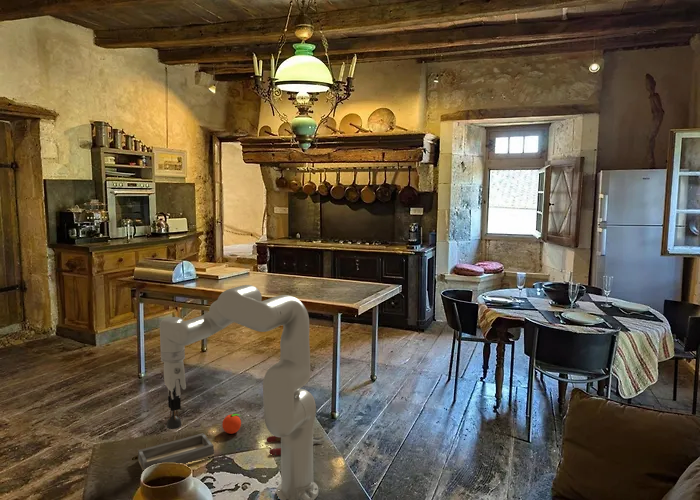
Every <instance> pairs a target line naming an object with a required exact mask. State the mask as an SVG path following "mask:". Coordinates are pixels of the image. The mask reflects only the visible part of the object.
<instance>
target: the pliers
mask: <svg viewBox="0 0 700 500" xmlns="http://www.w3.org/2000/svg"><path fill="white" fill-rule="evenodd" d="M323 438H324V437H323V436H315V437H314V436H313V445H315V444H320V443H321V444H322V443H325V440H322V439H323ZM275 441H276V442H281V437H276V436H274V435H272V436H268V437H266V443H267V442H269V443H274V442H275ZM269 453H270V454H272V455H276V456H281V447H277V448H276V447H275V448H271V449H269ZM270 454H269V455H270Z"/></svg>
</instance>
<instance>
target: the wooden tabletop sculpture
mask: <svg viewBox="0 0 700 500" xmlns="http://www.w3.org/2000/svg"><path fill="white" fill-rule="evenodd" d="M174 393H175V392H173V394H174ZM169 409H170V408H169ZM180 427H182V420H181V418H180V417H179V414H178V410H174V411H171V409H170V410H169V418H168V419H167V422H166V428H167V429H168V430H176V429H180Z"/></svg>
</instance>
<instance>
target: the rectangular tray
mask: <svg viewBox="0 0 700 500" xmlns="http://www.w3.org/2000/svg"><path fill="white" fill-rule="evenodd" d="M214 446H215V445H213V443H212V442H211V440H209V437H207V435H206V434H205V433H203V432H202V433H198V434H194V435H191V436H187V437H183V438H179V439H175V440H172V441H169V442H164V443H160V444H157V445H153V446H148V447H145V448H142V449H141V448H140V449H138V450H137V452H138V453H137V454H138V456H137V457H138V459H137V461H138V463H139V465H140V468H141V470H142V471H143V470H144V469H146V468H147V467H149V466H151V465H153V464H157V463H162V462H176V463H184V464H186V463H188V462H192V461H196V460H200V459H204V458H208V457H212V456H214V457H215V451H214V450H215V449H214Z"/></svg>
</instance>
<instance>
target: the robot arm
mask: <svg viewBox="0 0 700 500" xmlns="http://www.w3.org/2000/svg"><path fill="white" fill-rule="evenodd" d="M262 299H263V297H262V292H261V291H260V290H259V288H258V287H257V286H255V285H252V284H251V285H250V284H244V285H243V284H242V285H240V286H236V287H231V288H228V289H226V290H223V292H221V294H220V295H219V296H218V297H217V300H215V301H213V302H212V303H211V304H210V307H209V310H208V311H207V312H206V313H204V314H202V315H200V316H197V317H193V318H191V319H188V320H187V319H186V320H184V319H183V318H182V317H178V316H169V317H165V318H163V319H161V321H160V322H159V340H160V341H159V343H160V361H161V362H162V363H163V381H164V382H163V383H164V385H165V386H166V387H167V395H168V397H167V403H168V408H169V409H171V412H172V411H174V410H175V411H176V410H177V411H179V410H181V408H182V406H181V396H182V395H181V394H182V393H181V389H182V390H184V391H185V390H186V388H187V384H186V372H185V371H186V370H185V365H184V364H185V363H184V360H185V359H186V354H185V353H186V351H185V346H189V345H191V344H194V343H197V342H198V341H202V340H204V339H206V338H209V337H212V336H213V335H216V334H217V333H218V332H220V331H222V330H224V329H226V328H227V327H228V326H230V325H231V324H233V323H235V324H238V325H241V326H242V327H245V328H247V329H251V330H253V331H256V332H260V333H262V332H269V331H272V330H274V329H276V328H279V327H283V328H282V333H281V337H280V343H279V348H280V357H279V361H277V362H276V363H275V364H273V365H271V367H269V368H268V369H267V371H266V372H265V374H264V376H263V377H264V378H263V381H262V397H263V398H262V399H263V403H262V404H263V419H264V424H265V426H266V428H267V430H268V432H269V433H270V434H271V435H272V436H276V437H281V441H280V448H281V455H280V469H281V470H280V472H281V473H280V474H281V475H280V477H281V479H280V480H281V481H280V482H281V483H280V484H279V485H278V486H277V487H276V490H275V491H276V492H275V495H276V494H277V496H278V497H279V499H281V500H315V499H316V498H317V497H318V495H319V486H318V484H317V483H316V482H314V444H313V437H314V425H315V419H316V412H317V407H316V406H317V404H316V401H315V397H314V395H313V394H312V393H311V392H310V391H308V390H306V389H305V388H303V387H304V386H305V385H306V384H307V383H309V380H310V379H311V353H310V352H311V347H310V317H309V312H308V310H307V308H306V306H305V304H304V303H303V302H302V301H301V300H300V299H298V298H297V297H296V296H293V295H290V294H289V295H288V294H282V295H281V294H280V295H277V296H273V297H270V298H268V299H265V300H262ZM173 392H175V393H174V394H173ZM278 490H280V491H278ZM277 496H276V497H277Z"/></svg>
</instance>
